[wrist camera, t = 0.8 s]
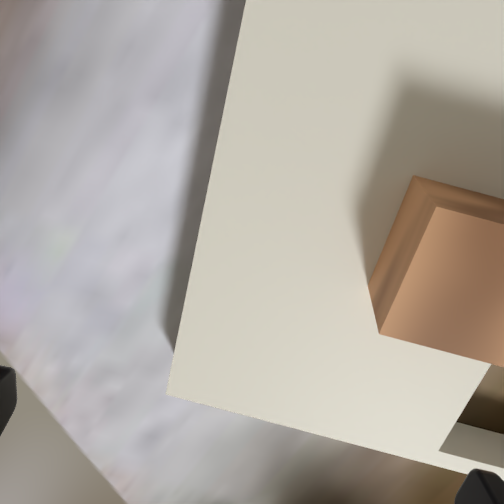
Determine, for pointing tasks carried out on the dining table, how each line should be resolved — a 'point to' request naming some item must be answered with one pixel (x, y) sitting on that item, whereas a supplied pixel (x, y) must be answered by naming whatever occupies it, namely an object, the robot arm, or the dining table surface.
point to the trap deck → (340, 219)
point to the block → (444, 272)
